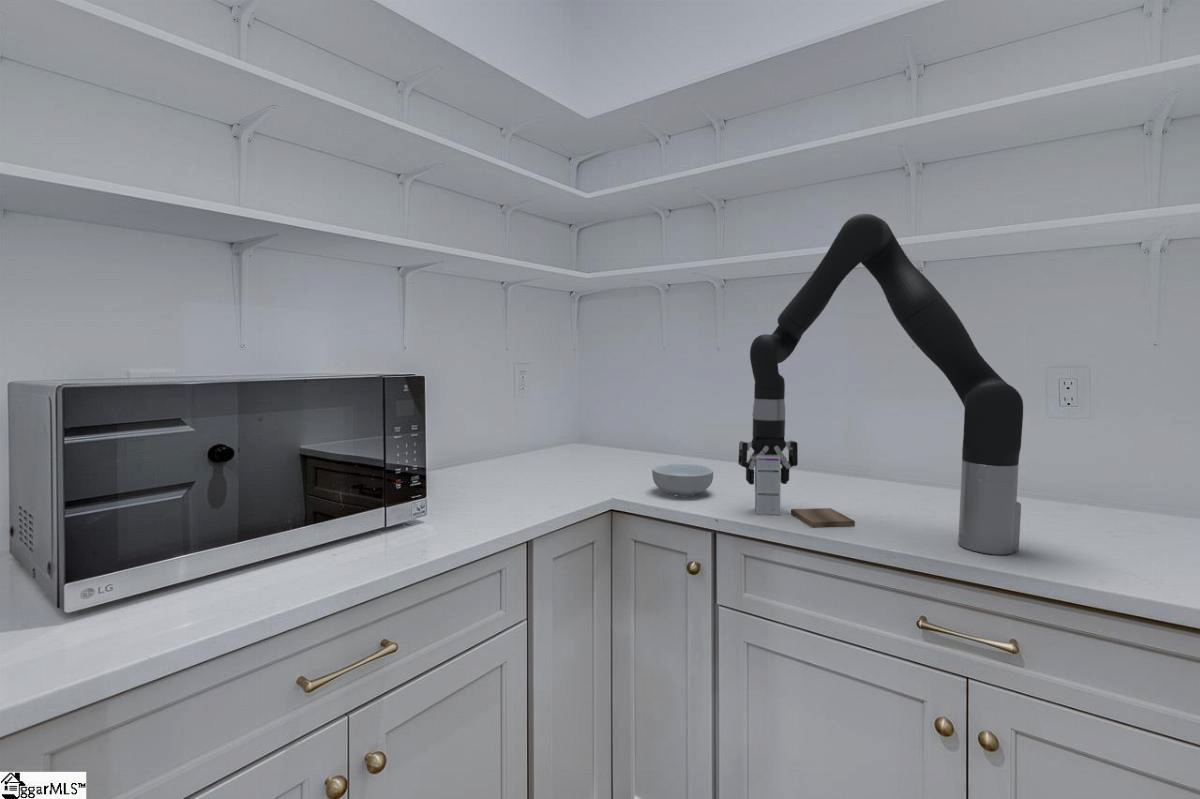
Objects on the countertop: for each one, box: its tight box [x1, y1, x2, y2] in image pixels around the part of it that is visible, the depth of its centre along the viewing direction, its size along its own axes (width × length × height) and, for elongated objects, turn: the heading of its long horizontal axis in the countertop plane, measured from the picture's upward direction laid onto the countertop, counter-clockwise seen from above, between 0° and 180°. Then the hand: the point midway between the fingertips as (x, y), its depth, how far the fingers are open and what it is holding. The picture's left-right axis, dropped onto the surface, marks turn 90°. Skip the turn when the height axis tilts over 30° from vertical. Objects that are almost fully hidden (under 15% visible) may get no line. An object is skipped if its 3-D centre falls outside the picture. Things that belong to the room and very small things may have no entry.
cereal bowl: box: [651, 462, 714, 497], centre depth 160 cm, size 17×17×7 cm
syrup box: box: [754, 454, 781, 516], centre depth 140 cm, size 6×6×14 cm
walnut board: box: [790, 507, 856, 528], centre depth 134 cm, size 10×11×1 cm
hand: (767, 483), depth 140 cm, fingers open, 8 cm apart
